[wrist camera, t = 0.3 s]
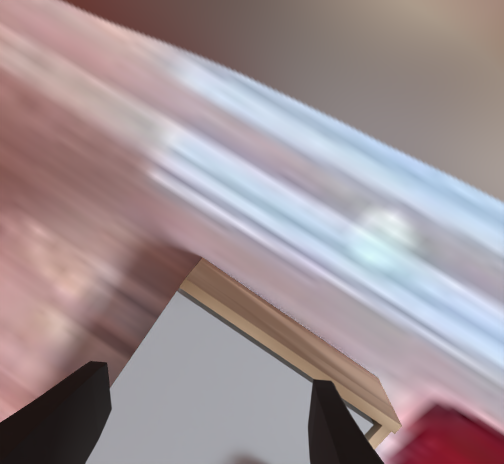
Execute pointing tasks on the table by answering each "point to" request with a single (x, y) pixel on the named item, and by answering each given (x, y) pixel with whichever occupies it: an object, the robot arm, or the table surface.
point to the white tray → (207, 397)
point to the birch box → (294, 344)
